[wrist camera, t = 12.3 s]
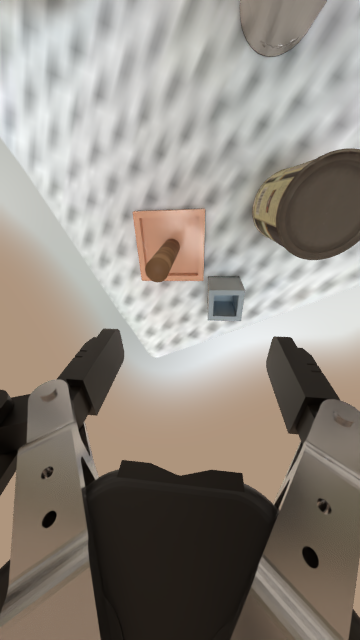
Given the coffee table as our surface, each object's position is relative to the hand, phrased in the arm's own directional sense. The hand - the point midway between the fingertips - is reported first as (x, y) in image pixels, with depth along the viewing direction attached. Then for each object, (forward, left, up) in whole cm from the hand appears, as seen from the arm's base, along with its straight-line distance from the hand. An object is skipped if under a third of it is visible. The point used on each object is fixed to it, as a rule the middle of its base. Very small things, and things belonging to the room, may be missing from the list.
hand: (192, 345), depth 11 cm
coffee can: (-5, +14, -32) cm, 35 cm away
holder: (+10, +5, -31) cm, 33 cm away
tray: (+1, -5, -31) cm, 32 cm away
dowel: (+1, -5, -30) cm, 31 cm away
